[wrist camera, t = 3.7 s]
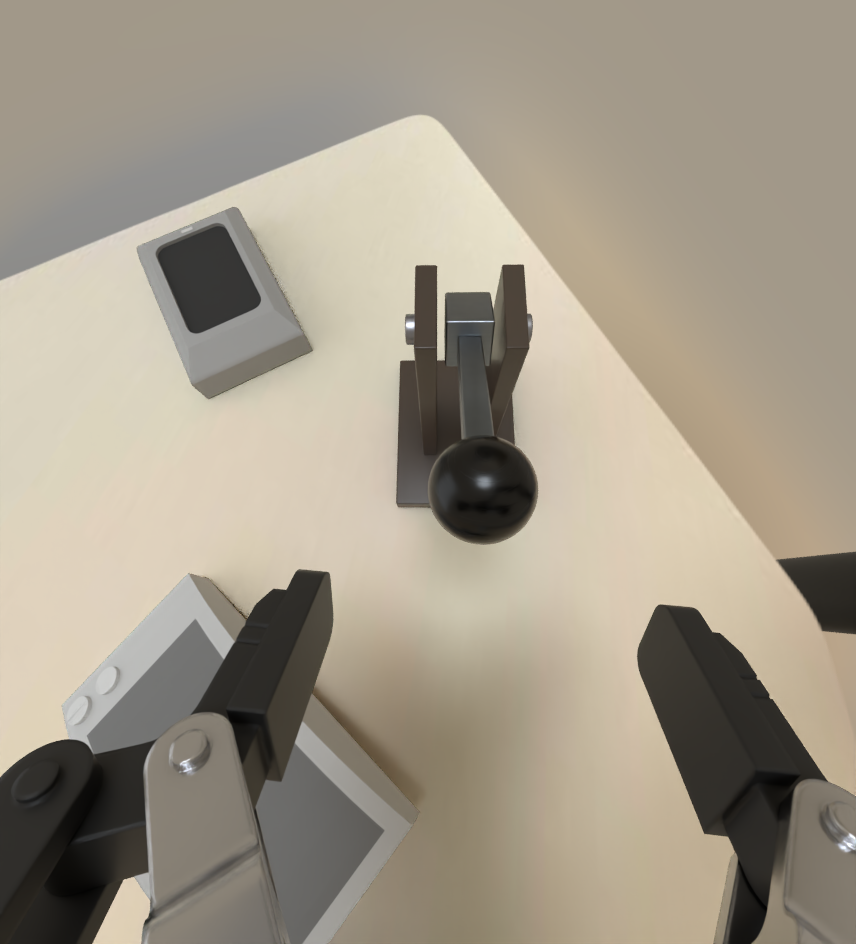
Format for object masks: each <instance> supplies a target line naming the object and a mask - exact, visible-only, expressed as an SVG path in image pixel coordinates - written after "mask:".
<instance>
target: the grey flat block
mask: <svg viewBox="0 0 856 944" xmlns="http://www.w3.org/2000/svg"><path fill="white" fill-rule="evenodd" d="M137 252H138V256H139V259H140V262H141V264H142V266H143V269H144V271H145V274H146V276H147V278H148V281H149V283H150V286H151V288H152V290H153V293H154V295H155V298H156V300H157V302H158V305H159V307H160V310H161V312H162V314H163V317H164V319H165V322H166V324H167V326H168V329H169V331H170V334H171V336H172V338H173V341H174V343H175V346H176V348H177V350H178V353H179V355H180V358H181V360H182V362H183V365H184V367H185V370H186V372H187V374H188V377H189V379H190V382H191V384H192V386H194V387H195V388H196V389H197V390H198V391H199V392H201V393H202V394H203V395H204V396H205V397H206V398H208V399H209V398H211V397H213V396H216V395H218V394H220V393H222V392H224V391H226V390H228V389H231V388H233V387H235V386H237V385H239V384H241V383H243V382H246V381H248V380H250V379H252V378H254V377H256V376H259V375H261V374H263V373H265V372H267V371H269V370H271V369H274V368H276V367H278V366H280V365H282V364H284V363H286V362H289V361H291V360H293V359H295V358H297V357H299V356H301V355H304V354H306V353H308V352H310V351H312V349H311V347H310V345H309V343H308V341H307V339H306V337H305V335H304V333H303V331H302V329H301V327H300V325H299V323H298V321H297V319H296V318H295V316H294V314H293V312H292V310H291V308H290V306H289V304H288V302H287V300H286V298H285V296H284V295H283V293H282V291H281V289H280V287H279V285H278V283H277V281H276V279H275V277H274V275H273V273H272V272H271V270H270V268H269V266H268V264H267V262H266V260H265V258H264V256H263V254H262V252H261V250H260V249H259V247H258V245H257V243H256V241H255V239H254V237H253V235H252V233H251V231H250V229H249V227H248V226H247V224H246V222H245V220H244V218H243V216H242V214H241V212H240V210H239V209H238V208H236V207H232V208H229V209H227V210H224V211H222V212H220V213H217V214H215V215H212V216H210V217H207V218H205V219H203V220H200V221H198V222H195V223H193V224H190V225H188V226H186V227H183V228H181V229H178V230H176V231H173V232H171V233H169V234H166V235H164V236H161V237H159V238H157V239H154V240H152V241H149V242H147V243H144V244H142V245H140V246H138V247H137Z"/></svg>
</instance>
